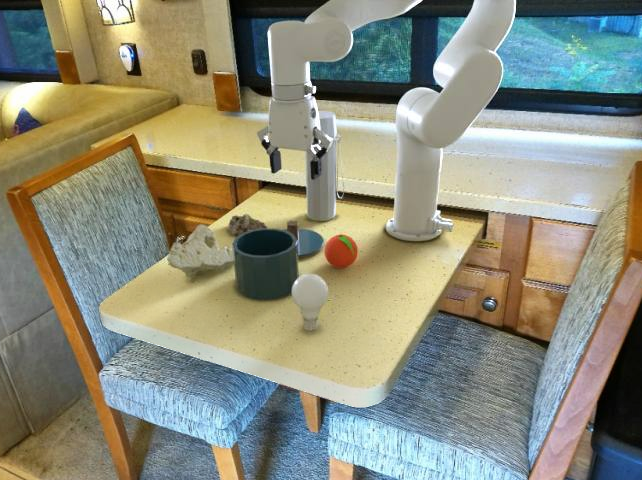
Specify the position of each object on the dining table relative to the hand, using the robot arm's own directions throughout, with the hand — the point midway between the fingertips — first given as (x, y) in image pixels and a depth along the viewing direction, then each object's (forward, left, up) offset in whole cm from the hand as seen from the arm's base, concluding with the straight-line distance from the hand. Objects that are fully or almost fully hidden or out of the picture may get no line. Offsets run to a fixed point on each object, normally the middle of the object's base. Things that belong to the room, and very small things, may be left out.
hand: (296, 174), depth 126 cm
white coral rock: (+12, +20, -17) cm, 29 cm away
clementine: (-13, +4, -17) cm, 22 cm away
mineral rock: (+15, -2, -17) cm, 23 cm away
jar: (-2, +17, -17) cm, 24 cm away
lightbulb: (-18, +27, -17) cm, 37 cm away
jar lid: (+1, 0, -17) cm, 16 cm away
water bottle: (+2, -17, -17) cm, 24 cm away
